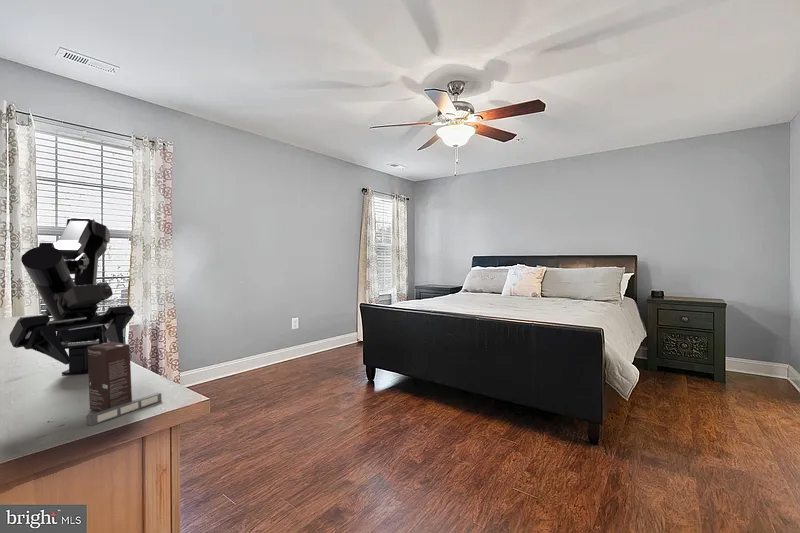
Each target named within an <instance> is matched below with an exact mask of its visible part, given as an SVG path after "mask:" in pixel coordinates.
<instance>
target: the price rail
mask: <svg viewBox="0 0 800 533" xmlns="http://www.w3.org/2000/svg"><path fill="white" fill-rule="evenodd" d="M159 402H162V393H161V392H158V391H157V392H155V393H152V394H149V395H145V396H142V397H140V398H137V399H132V401H130V402H127V403H124V404H121V405H118V406H115V407H112V408H109V409H106V410H103V411H97V412H94V413H91V414H88V415H86V425H87V426H91V427H92V426H96V425H98V424H100V423H102V422H106V421H109V420H111V419H114V418H117V417H120V416H122V415H123V416H124V415H125V414H128V413H132V412H133V411H137V410H140V409H142V408H145V407H148V406H150V405H151V406H152V405H153V404H156V403H159Z"/></svg>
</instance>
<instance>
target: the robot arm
mask: <svg viewBox="0 0 800 533" xmlns="http://www.w3.org/2000/svg"><path fill="white" fill-rule="evenodd" d="M66 220H67V221H66V225H65V228H64V230H63V231H62V233H61V234H60V236H59V238H58V240H57V241H56V242H39V245H38V246H37V247H32V248H30V249H29V250H27V251H26V252H24V254H22V255H21V258H20V259H21V260H20V261H21V263H22V265H23V268H24V269H25V271H26V273H27V274H28V276H29V278H30V280H31V282H32V283H33V284H35V289H36V290H37V292H38V294H39V296H40V297H41V299H42V301H43V303H44V305H45V306H46V310H45V311H44V313H45V314H37V315H30V316H21V317H19V319H18V320H17V321H16V322H15V324H14V326H13V327H12V330H11V332H10V333H9V342H10V344H11V346H12V347H13V348H15V349H18V348H24V349H25V350H32V351H36V352H38V353H41V354H44V355H46V356H48V357H49V358H51V359H54V360H56V361H57V362H60V363H61V364H64V365H68V369H66V370H64V371H63V372H62V371H61V375H62V376H63V375H74V374H88V351H87V347H89V346H93V345H98V344H102V343H107V342H114V343H122V344H125V341H124V329H126V327H127V326H128V324H129V322H130V321H131V320H132V318H133V316H134V315H135V311H134V310H133V308H132V307H131V306H130V305H128V304H125V305H116V306H109V307H108V308H107V310H106V311H105V313H104V314H101V315H99V314H98V312H97V311H98V310H99V306H98V304H99V303H101V302H104V301H105V300H108V299H110V297H112V296H113V289H112V287H111V286H110V284H109V283H108V282H97V277H98V266H99V258H100V257H101V256H102V255H103V254H104V253H105V252H106V251H107V246H108V244H109V243H110V241H111V240H110V239H111V233H110V230H109V228H108V227H107V225H105V224H103V223H99V222H97V221H96V220H95V219H94V218H91V217H79V216H78V217H77V216H75V217H74V216H72V217H68V218H67V219H66ZM71 275H74V278H72V276H71ZM50 316H51V317H52V319H53V320H51V318H50ZM66 350H68V352H67V351H66Z"/></svg>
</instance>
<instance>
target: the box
mask: <svg viewBox="0 0 800 533" xmlns="http://www.w3.org/2000/svg"><path fill="white" fill-rule="evenodd" d="M130 347H131V345H130V344H127V343H124V344H122V343H114V342H110V341H108V342H107V343H102V344H98V345H93V346H89V347H87V351H88V373H87V374H88V393H89V395H88V397H89V399H88V401H89V409H90V410H94V411H97V412H100V411H103V410H106V409H109V408H112V407H115V406H118V405H121V404H124V403H127V402H130V401H133V395H132V391H133V390H132V373H131V372H132V371H131V368H132V367H131V348H130Z"/></svg>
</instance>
